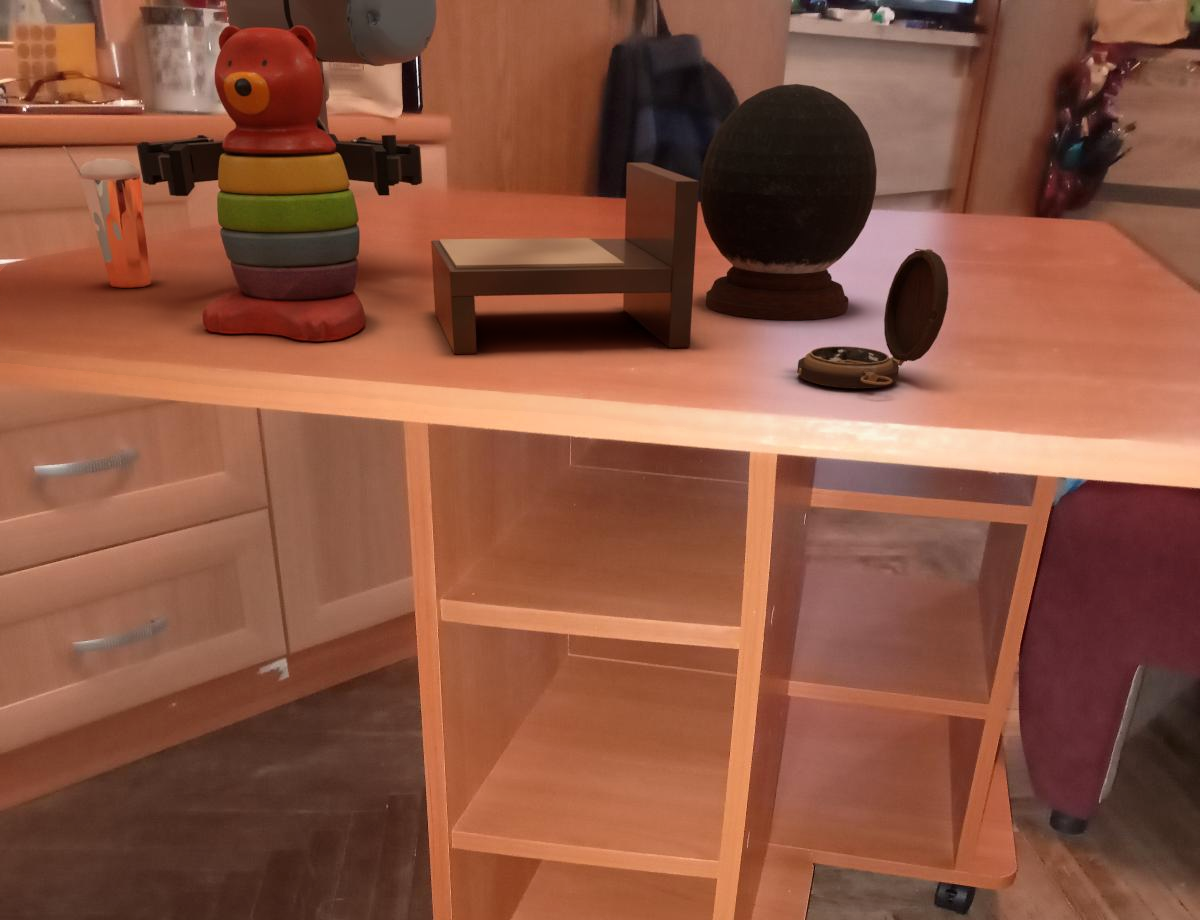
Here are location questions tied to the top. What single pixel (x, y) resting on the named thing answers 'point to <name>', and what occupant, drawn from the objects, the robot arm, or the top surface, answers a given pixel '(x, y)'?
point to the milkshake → (117, 218)
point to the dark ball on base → (786, 202)
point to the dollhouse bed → (585, 263)
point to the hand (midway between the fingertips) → (281, 173)
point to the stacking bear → (282, 194)
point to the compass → (890, 329)
